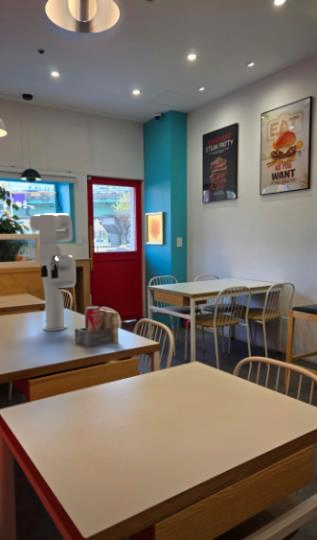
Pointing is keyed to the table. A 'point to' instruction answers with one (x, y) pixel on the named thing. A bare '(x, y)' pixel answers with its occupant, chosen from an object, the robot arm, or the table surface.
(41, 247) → the robot arm
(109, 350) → the table surface
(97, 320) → the soda can
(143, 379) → the table surface
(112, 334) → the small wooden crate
